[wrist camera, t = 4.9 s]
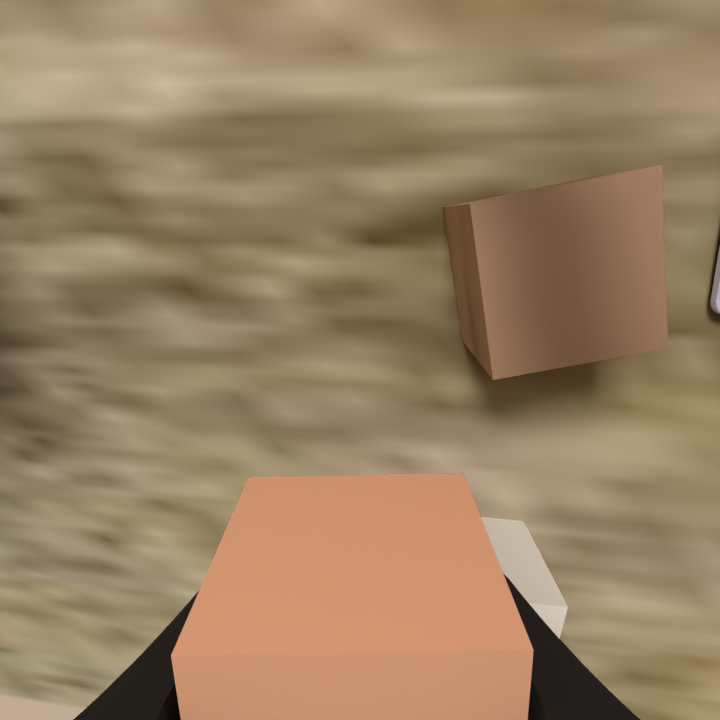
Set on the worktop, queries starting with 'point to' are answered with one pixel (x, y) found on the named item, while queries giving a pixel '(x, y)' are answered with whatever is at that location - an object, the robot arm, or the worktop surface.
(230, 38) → the worktop surface
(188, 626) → the terracotta cube
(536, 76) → the worktop surface
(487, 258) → the walnut cube
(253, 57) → the worktop surface
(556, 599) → the beige cube
